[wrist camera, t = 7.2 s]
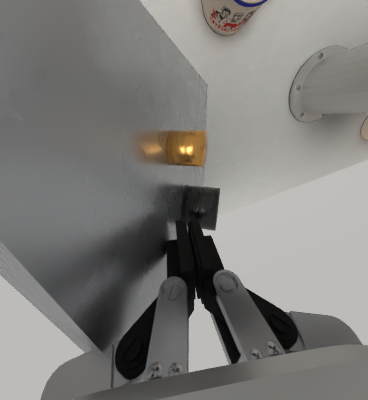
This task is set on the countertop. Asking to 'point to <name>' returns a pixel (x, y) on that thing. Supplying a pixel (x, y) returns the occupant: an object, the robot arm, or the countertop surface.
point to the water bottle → (365, 130)
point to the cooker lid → (95, 160)
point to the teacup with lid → (229, 14)
